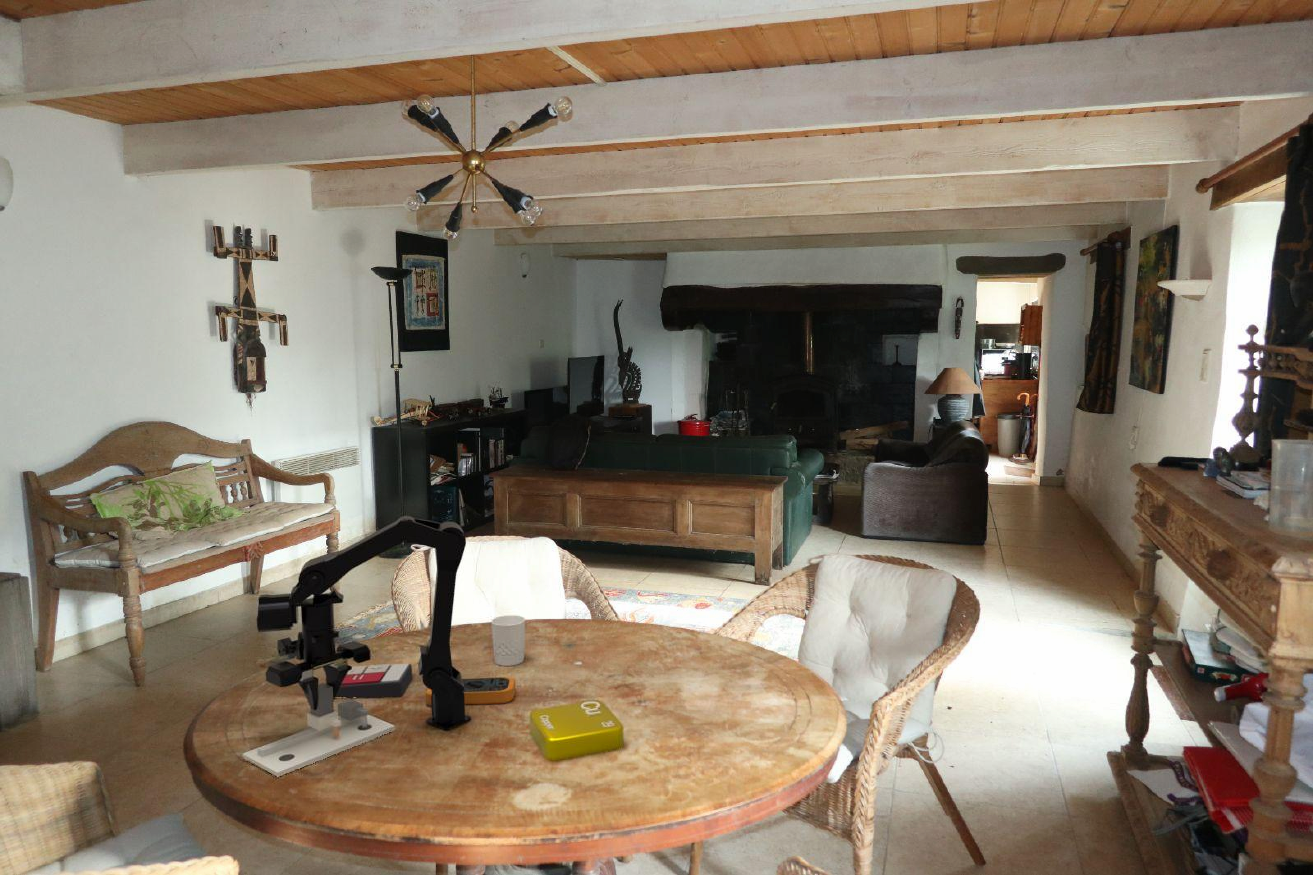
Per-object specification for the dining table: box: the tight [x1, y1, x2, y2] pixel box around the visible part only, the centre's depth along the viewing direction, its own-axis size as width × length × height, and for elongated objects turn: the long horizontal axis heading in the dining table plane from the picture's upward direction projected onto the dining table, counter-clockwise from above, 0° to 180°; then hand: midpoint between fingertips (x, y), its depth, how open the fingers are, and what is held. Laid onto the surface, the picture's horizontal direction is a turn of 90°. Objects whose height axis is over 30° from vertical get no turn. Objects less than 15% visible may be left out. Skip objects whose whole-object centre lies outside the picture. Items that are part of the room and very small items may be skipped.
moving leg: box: [306, 682, 341, 737], centre depth 168 cm, size 7×4×8 cm, turn 52°
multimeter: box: [425, 676, 516, 707], centre depth 188 cm, size 9×18×3 cm, turn 95°
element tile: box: [529, 699, 624, 762], centre depth 168 cm, size 15×15×5 cm
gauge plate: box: [241, 698, 396, 778], centre depth 166 cm, size 12×24×5 cm, turn 142°
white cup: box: [490, 614, 526, 667], centre depth 210 cm, size 8×8×10 cm
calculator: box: [336, 663, 414, 699], centre depth 194 cm, size 11×4×15 cm
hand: (322, 706), depth 169 cm, fingers closed on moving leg, 3 cm apart
